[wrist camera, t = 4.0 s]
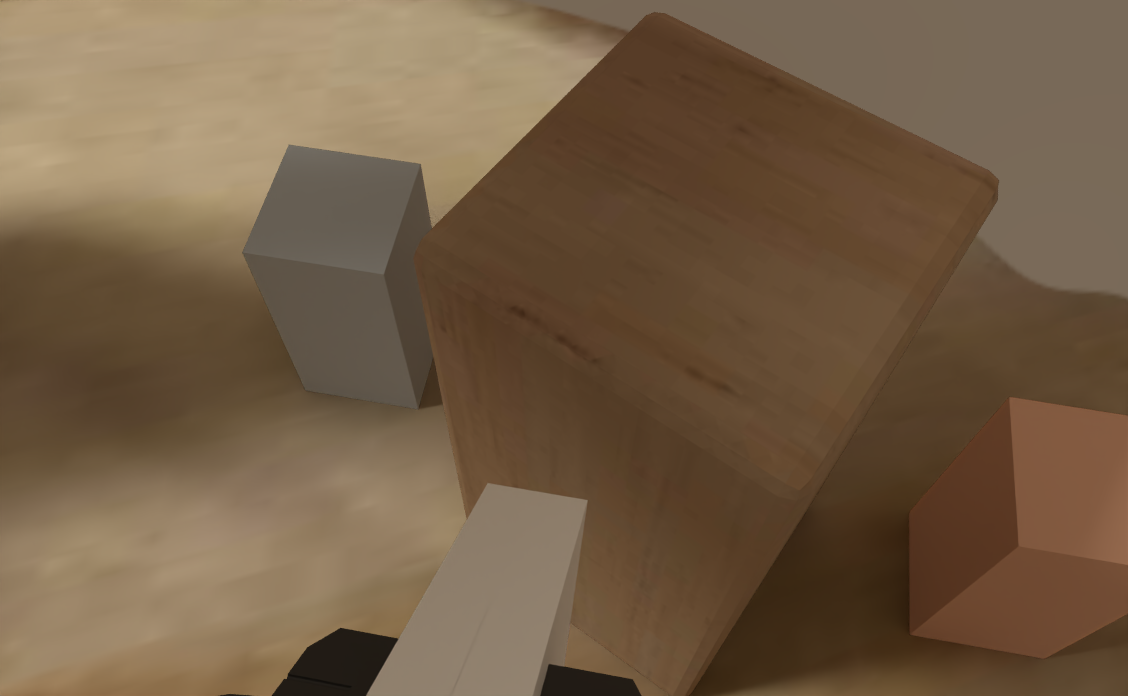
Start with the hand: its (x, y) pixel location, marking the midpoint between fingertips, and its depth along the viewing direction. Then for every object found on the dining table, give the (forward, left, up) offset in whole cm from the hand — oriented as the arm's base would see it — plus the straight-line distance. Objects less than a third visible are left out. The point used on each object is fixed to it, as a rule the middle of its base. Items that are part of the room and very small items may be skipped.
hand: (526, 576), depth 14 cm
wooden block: (+10, +2, -23) cm, 25 cm away
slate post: (+10, +16, -23) cm, 30 cm away
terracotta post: (+16, -10, -23) cm, 29 cm away
